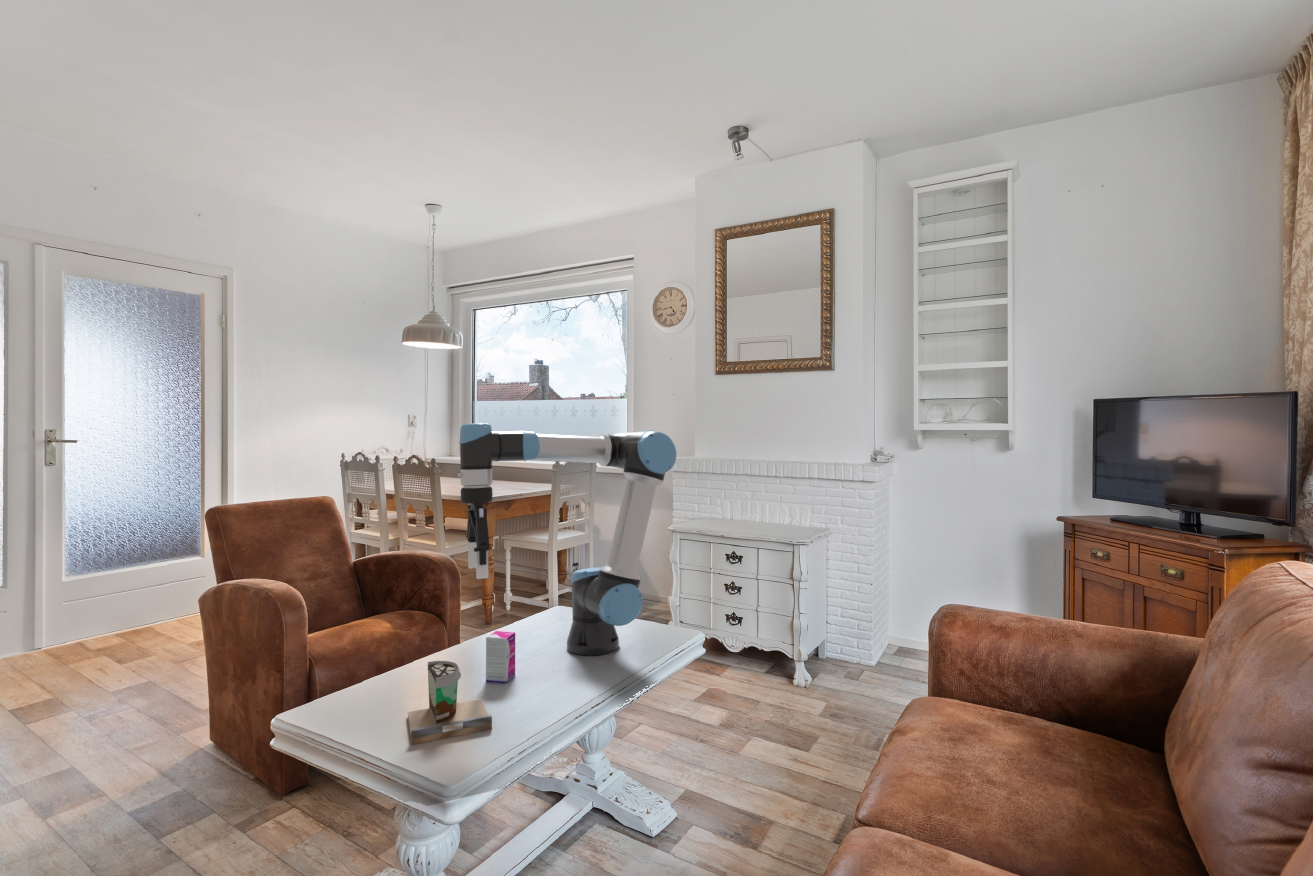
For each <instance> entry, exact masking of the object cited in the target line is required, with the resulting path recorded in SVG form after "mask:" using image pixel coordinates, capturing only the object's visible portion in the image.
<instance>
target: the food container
mask: <svg viewBox="0 0 1313 876" xmlns="http://www.w3.org/2000/svg"><path fill="white" fill-rule="evenodd" d="M427 675H428V677H427V679H428V682H427V683H428V707H429V708H430V711H431V713H432V715H433V718H434V720H435V723H440V722H443V721H446V720H448V719H450V718H452V717H453V716H454V715H455V714H456V704H457V703H458V702H457V701H458V699H457V698H458V686H459V685H458V683H459V680H460V679H461V678H462V673H461V669H460V667H459V665H458V663H456V662H453V661H449V660H433V661H427Z"/></svg>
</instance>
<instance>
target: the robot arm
mask: <svg viewBox="0 0 1313 876" xmlns="http://www.w3.org/2000/svg"><path fill="white" fill-rule="evenodd" d="M459 430H460V431H459V442H458V443H459V455H460V456H459V459H460V460H459V461H460V472H461V473H457V477H458V478H460V485H461V486H463V487H461V489H460V502H461V503H462V504H466V505H467V522H466V524H467V527H466V536H465V537H466V538H467V540H466V541H467V559H468V562H467V564H468V565H467V566H468V567H467V568H468V569H470V570H471V569H475V573H476V574H475V575H476V577H475V579H476V580H482V579H489V550H490V548H491V545H490V536H489V527H488V526H489V525H488V517H487V516H488V515H487V514H488V509H487V508H486V507H484V504H485V503H486V504H488V503H491V502H493V500H494V499H493V488H492V486H491V485H493V462H515V461H516V462H518V461H523V462H526V461H535V462H536V461H537V462H565V463H566V462H567V463H568V462H569V463H590V464H591V463H592V464H593V463H595V464H596V463H597V464H599V465H600V466H601V467H611V468H618V469H623V471H622V472H623V474H622V475H623V476H624V477H625V479H626V483H625V487H624V490H623V495H622V500H621V504H620V507H619V512H618V516H617V521H616V525H615V528H614V533H613V537H612V542H611V546H610V549H609V554H608V557H607V562H606V564H605V565H604V566H601V567H588V568H582V569H576V570H575V571H573V572H572V575H571V582H570V583H571V600H572V603H571V604H572V605H571V607H572V622H571V625H570V629H569V633H568V635H567V639H566V650H567V651H568V652H570V653H572V654H575V655H580V656H599V655H606V654H610V653H612V652H614V651H617V650H618V649H619V647H620V646H619V645H620V643H619V642H620V639H619V635H618V633H617V629H616V627H622V626H626V625H629V624H630V623H631V622H633V621H635V620H636V618H637V617H638V616H639V615H640V613H641V611H642V608H643V602H644V599H643V595H642V593H641V590H640V589H639V588H640V584H641V576H640V574H639V573H638V569H639V563H640V559H641V555H642V549H643V545H644V541H645V538H646V533H647V530H648V529H647V528H648V524H649V520H650V516H651V512H652V507H653V504H654V499H655V495H656V490H657V488H658V487H659V486H660V485H661V484H663V483H664V479H665V475H666V473H667V472H669V471H670V470H671V469H672V468H673V467H674V466H675V464H676V461H677V448H676V445H675V443H674V442H673V440H672V438H671V437H670V436H669V435H668V434H666V433H664V432H661V431H655V430H647V431H646V430H645V431H629V432H623V433H622V432H621V433H612V434H610V433H602V434H601V435H599V436H589V435H587V436H585V435H569V434H567V435H566V434H563V435H562V434H549V433H548V434H545V433H536V432H535V431H529V430H513V431H495V430H493V429H492V425H491V424H490V423H464V424H462V425H461V426H460V429H459Z"/></svg>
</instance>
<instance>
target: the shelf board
mask: <svg viewBox="0 0 1313 876" xmlns="http://www.w3.org/2000/svg"><path fill="white" fill-rule="evenodd" d="M407 719H408V727H409V735H410V743H411V744H410V745H416V744H422V743H426V742H432V741H437V740H442V739H447V738H452V737H457V736H462V735H467V734H473V733H478V732H483V731H488V730H492V729H493V716H492V714H491V713H490V714H489V713H488V711H487V708H486V706H485V703H484V702H483V698H480V699H479V698H478V699H475V700H469V701H464V702H459V703H458V702H457V704H456V714H455V715H454V716H453V717H452V718H450V719H448V720H446V721H443V722H440V723H435V720H434V718H433V715H432V713H431V711H430V708H423V709H418V710H412V711H408V712H407Z"/></svg>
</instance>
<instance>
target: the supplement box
mask: <svg viewBox="0 0 1313 876" xmlns="http://www.w3.org/2000/svg"><path fill="white" fill-rule="evenodd" d="M485 641H486V642H485V683H491V684H508V682H509V681H510V680H512V679H513V678H514V677H515V676H516V632H515V631H513V632H512V631H500V630H499V631H498V630H496V631H494V632H492V633H490V634H489V635H488V636H486V637H485Z"/></svg>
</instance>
